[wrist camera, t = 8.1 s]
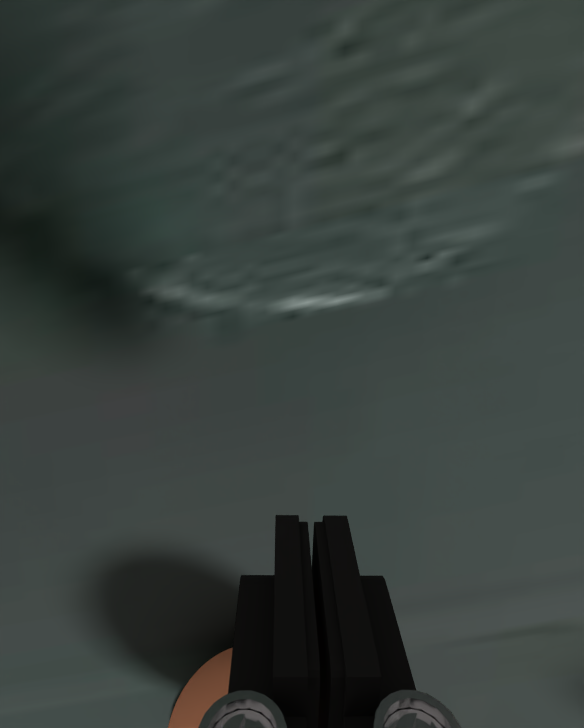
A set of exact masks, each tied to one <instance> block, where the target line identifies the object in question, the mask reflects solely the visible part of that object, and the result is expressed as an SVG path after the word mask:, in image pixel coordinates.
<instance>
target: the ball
mask: <svg viewBox="0 0 584 728" xmlns="http://www.w3.org/2000/svg"><path fill="white" fill-rule="evenodd" d="M232 650H233V648H230V649H227V650H225V651H223V652H221V653H219V654H217V655H216V656H214V657H213V658H211V659H210V660H208V661H207V662H206V663H205V664H204V665H203V666H202V667H200V668H199V669H198V671H197V672H196V673H195V674H194V675H193V676H192V677H191V679H190V680H189V681H188V683H187V684H186V686H185V687H184V689H183V690H182V692H181V694H180V696H179V698H178V700H177V702H176V704H175V707H174V709H173V712H172V715H171V718H170V722H169V726H168V728H198V727H199V725H200V722H201V720H202V718H203V716H204V714H205V713H206V711H207V710H208V709H209V708H210V707H211V705H212V704H213V703H214V702H216V701H217V700H219V699H220V698H221V697H223V696H224V695H226V694H228V687H229V678H230V669H231V659H232Z"/></svg>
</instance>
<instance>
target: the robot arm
mask: <svg viewBox="0 0 584 728" xmlns="http://www.w3.org/2000/svg"><path fill="white" fill-rule="evenodd" d="M198 728H461V726H460V725H459V723H458V722H457V720H456V718H455V717H454V715H453V714H452V712H451V711H450V710H449V709H448V708H447V707H445V706H444V705H443V704H442V703H441V702H440V701H439V700H437V699H435V698H434V697H432V696H430V695H429V694H426V693H423V692H420V691H416V688H415V684H414V681H413V677H412V674H411V670H410V667H409V663H408V660H407V656H406V652H405V649H404V645H403V642H402V638H401V635H400V631H399V628H398V624H397V621H396V617H395V613H394V610H393V606H392V603H391V599H390V596H389V592H388V589H387V585H386V582H385V579H384V578H383V576H360V574H359V569H358V565H357V560H356V556H355V551H354V546H353V542H352V537H351V533H350V528H349V523H348V519H347V516H323V521H322V522H314V535H313V555H312V567H311V556H310V544H309V533H308V523H307V522H299V516H298V515H276V525H275V575H241V578H240V585H239V595H238V604H237V613H236V622H235V632H234V641H233V650H232V659H231V669H230V678H229V687H228V694H226V695H224V696H223V697H221V698H220V699H219V700H217V701H216V702H214V703H213V704H212V705H211V707H210V708H209V709H208V710H207V711H206V713H205V714H204V716H203V718H202V720H201V722H200V725H199V727H198Z"/></svg>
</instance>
